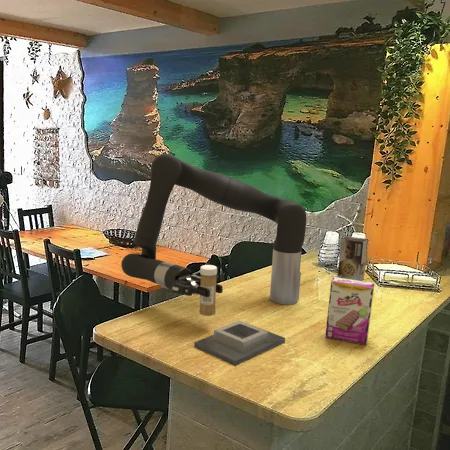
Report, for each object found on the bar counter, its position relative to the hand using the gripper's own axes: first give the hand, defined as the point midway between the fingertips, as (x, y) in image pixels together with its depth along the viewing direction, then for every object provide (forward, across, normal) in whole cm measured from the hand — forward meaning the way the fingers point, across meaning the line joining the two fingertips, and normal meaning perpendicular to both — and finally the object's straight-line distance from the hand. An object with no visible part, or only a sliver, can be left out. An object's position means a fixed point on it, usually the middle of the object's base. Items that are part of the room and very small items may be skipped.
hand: (215, 291), depth 133 cm
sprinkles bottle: (-3, 0, +7) cm, 8 cm away
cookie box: (-1, +78, +13) cm, 79 cm away
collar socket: (+10, 0, +12) cm, 15 cm away
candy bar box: (+27, +24, +12) cm, 39 cm away
